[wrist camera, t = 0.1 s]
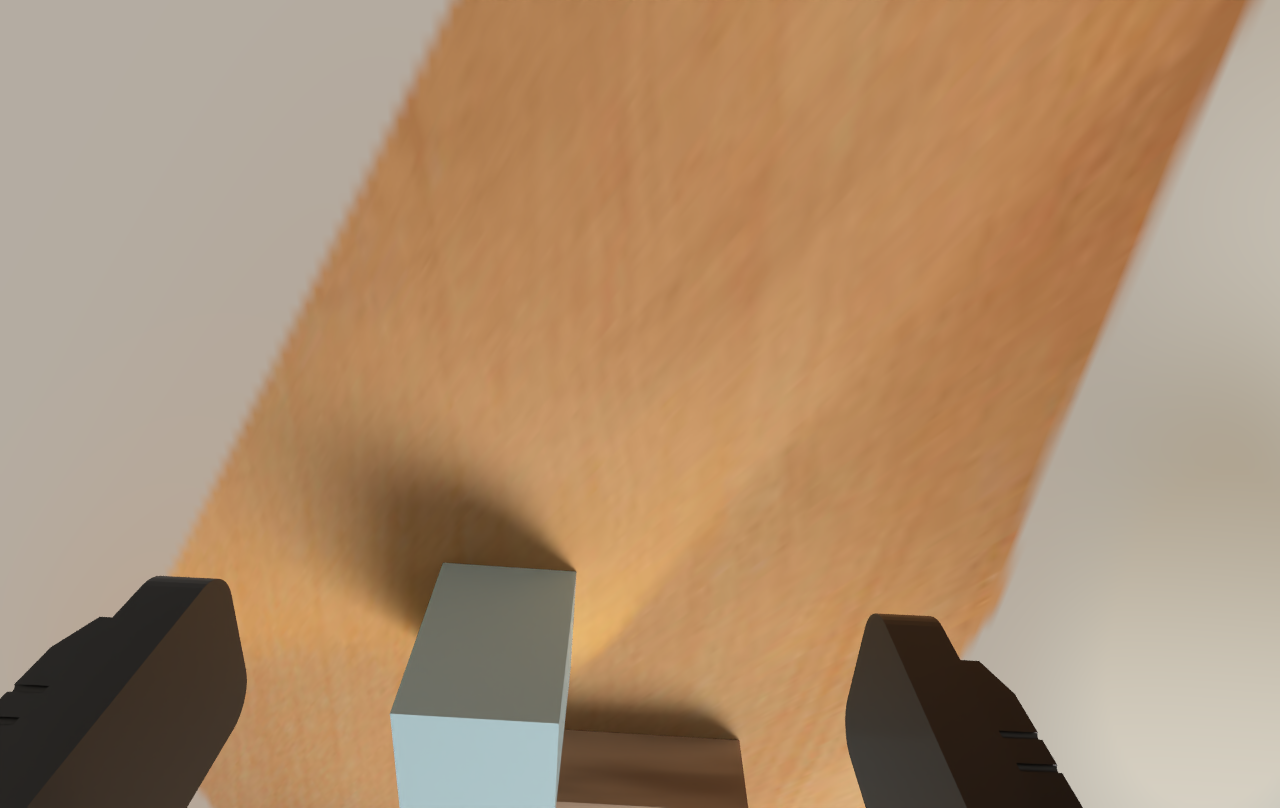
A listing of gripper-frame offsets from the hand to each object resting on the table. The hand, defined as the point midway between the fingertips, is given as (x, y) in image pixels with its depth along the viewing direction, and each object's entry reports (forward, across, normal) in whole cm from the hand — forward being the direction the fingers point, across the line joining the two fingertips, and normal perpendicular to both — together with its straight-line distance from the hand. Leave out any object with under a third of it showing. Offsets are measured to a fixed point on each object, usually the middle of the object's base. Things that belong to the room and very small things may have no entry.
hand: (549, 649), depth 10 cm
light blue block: (+18, +3, +15) cm, 24 cm away
